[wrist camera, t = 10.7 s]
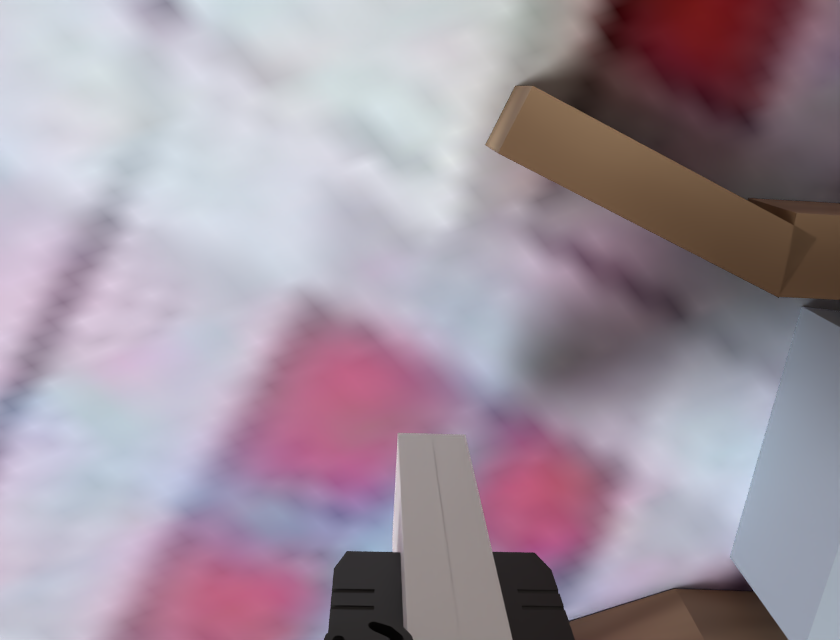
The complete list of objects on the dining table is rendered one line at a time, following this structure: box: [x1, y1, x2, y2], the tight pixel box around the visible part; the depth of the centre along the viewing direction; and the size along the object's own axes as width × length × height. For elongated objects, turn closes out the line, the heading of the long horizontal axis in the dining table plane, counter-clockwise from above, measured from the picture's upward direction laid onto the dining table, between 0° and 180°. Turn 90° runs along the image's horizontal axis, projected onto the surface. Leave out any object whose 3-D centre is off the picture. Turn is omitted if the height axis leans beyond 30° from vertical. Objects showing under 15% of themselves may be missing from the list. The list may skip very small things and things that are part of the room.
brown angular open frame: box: [486, 86, 840, 640], centre depth 21 cm, size 19×18×3 cm
